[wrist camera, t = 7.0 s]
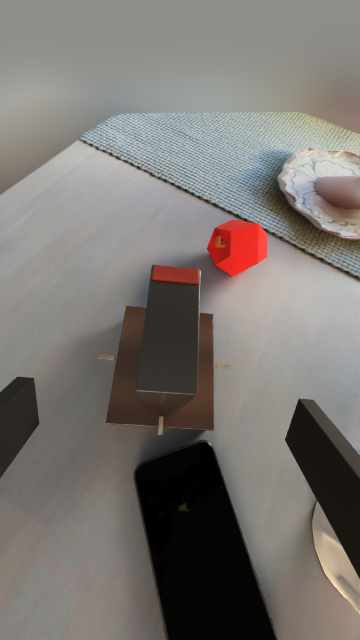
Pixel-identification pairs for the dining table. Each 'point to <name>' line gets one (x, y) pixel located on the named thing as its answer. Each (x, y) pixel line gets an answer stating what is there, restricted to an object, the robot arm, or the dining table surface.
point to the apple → (237, 246)
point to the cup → (335, 559)
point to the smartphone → (199, 549)
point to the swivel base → (123, 395)
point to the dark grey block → (170, 339)
